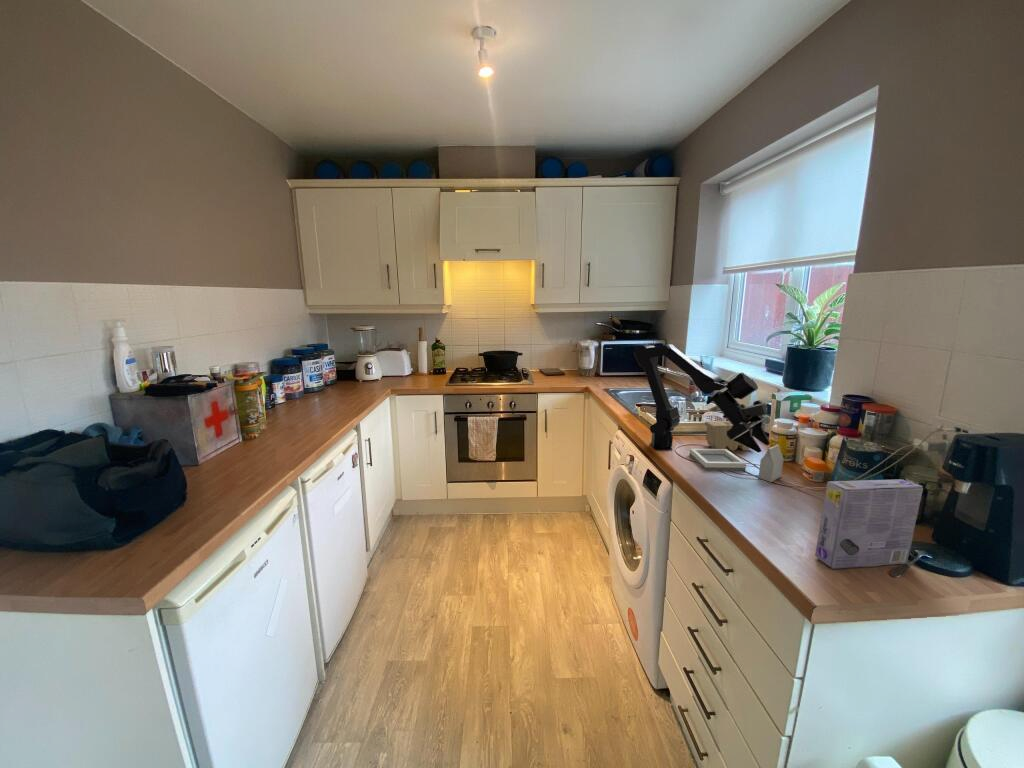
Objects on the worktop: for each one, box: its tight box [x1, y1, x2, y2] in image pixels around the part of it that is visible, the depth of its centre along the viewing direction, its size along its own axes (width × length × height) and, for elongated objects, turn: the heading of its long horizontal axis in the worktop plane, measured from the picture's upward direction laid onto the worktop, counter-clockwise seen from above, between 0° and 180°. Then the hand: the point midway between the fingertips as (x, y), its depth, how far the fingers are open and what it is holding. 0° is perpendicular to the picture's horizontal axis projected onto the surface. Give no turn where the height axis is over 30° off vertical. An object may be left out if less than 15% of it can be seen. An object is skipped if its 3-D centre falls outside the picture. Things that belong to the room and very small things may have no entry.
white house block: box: [758, 444, 784, 483], centre depth 127 cm, size 4×7×10 cm, turn 125°
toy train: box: [704, 420, 750, 451], centre depth 151 cm, size 6×17×10 cm, turn 95°
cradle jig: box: [688, 448, 747, 472], centre depth 138 cm, size 13×13×2 cm
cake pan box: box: [814, 478, 924, 570], centre depth 85 cm, size 19×5×18 cm, turn 97°
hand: (764, 448), depth 128 cm, fingers open, 9 cm apart
